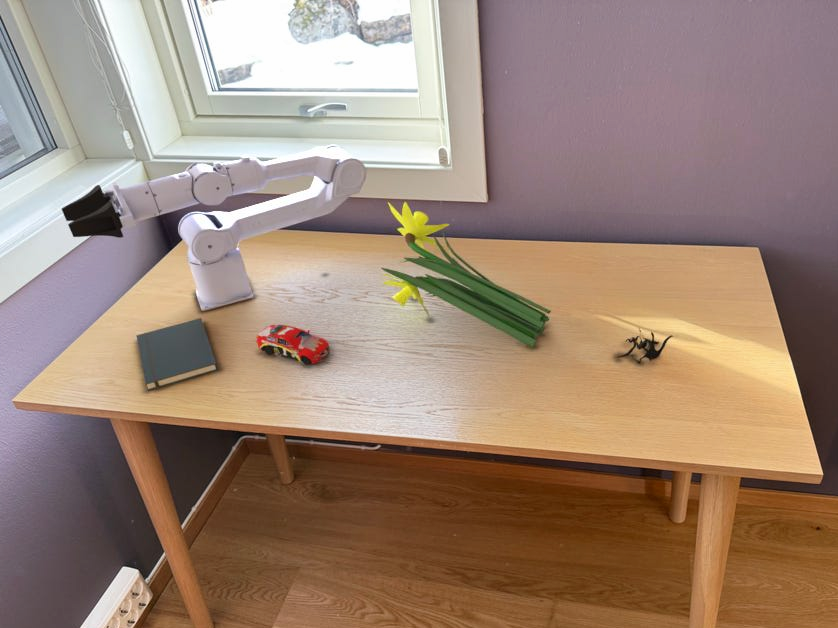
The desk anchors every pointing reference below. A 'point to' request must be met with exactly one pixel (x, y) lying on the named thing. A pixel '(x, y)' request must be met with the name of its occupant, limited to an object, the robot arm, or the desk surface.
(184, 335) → the notebook
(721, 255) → the desk surface
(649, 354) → the creature
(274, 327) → the race car
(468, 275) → the daffodil flowers
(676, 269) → the desk surface
